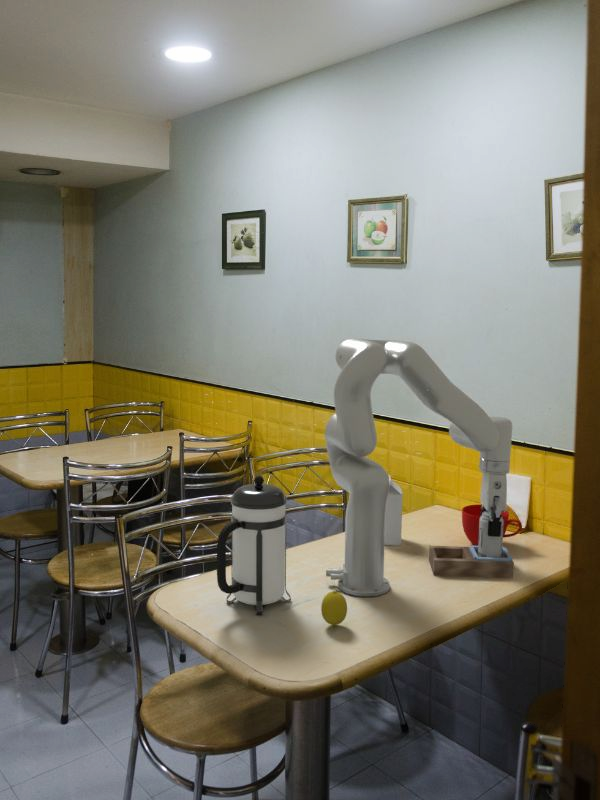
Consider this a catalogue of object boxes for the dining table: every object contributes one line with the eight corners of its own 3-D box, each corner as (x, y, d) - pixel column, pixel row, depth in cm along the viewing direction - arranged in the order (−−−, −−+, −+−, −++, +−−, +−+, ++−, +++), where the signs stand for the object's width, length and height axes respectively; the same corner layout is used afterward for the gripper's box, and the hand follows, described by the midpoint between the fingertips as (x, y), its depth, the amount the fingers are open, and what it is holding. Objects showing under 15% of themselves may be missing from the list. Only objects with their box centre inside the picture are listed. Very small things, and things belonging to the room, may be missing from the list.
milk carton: (400, 538, 216) (402, 475, 213) (401, 546, 209) (403, 481, 206) (375, 537, 217) (377, 474, 214) (375, 545, 210) (377, 480, 207)
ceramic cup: (514, 558, 201) (516, 522, 199) (454, 547, 209) (455, 512, 208) (526, 544, 212) (527, 510, 210) (468, 534, 220) (469, 502, 219)
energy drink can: (474, 565, 195) (476, 510, 193) (496, 564, 195) (499, 510, 193) (481, 573, 189) (483, 517, 187) (504, 573, 189) (507, 517, 187)
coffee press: (225, 588, 178) (224, 467, 174) (291, 589, 178) (292, 468, 174) (216, 620, 161) (215, 486, 156) (290, 621, 161) (291, 487, 156)
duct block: (433, 575, 188) (434, 558, 187) (428, 559, 199) (429, 543, 198) (513, 577, 187) (514, 560, 186) (503, 562, 197) (504, 545, 197)
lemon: (319, 620, 161) (320, 586, 160) (345, 620, 161) (345, 585, 160) (322, 632, 156) (322, 596, 154) (348, 631, 156) (349, 595, 155)
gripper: (517, 474, 180) (512, 541, 182) (502, 458, 197) (497, 521, 199) (486, 472, 180) (481, 540, 182) (473, 457, 197) (469, 519, 199)
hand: (490, 530), depth 191 cm, fingers open, 9 cm apart
